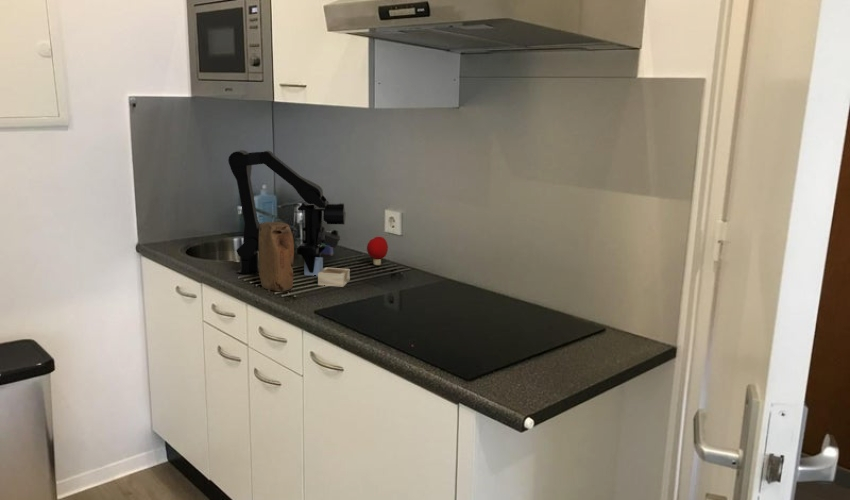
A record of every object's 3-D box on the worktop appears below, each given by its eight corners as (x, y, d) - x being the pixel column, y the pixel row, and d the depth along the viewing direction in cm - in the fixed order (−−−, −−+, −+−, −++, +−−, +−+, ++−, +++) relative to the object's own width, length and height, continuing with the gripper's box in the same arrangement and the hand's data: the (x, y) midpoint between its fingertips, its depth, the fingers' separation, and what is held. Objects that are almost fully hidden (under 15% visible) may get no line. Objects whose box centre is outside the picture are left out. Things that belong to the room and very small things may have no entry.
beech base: (325, 279, 217) (325, 267, 216) (349, 281, 216) (349, 268, 215) (318, 285, 209) (318, 273, 209) (343, 287, 208) (343, 274, 208)
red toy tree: (372, 262, 241) (372, 234, 239) (391, 264, 239) (391, 236, 237) (362, 268, 232) (363, 239, 230) (382, 270, 230) (382, 241, 228)
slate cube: (308, 271, 226) (307, 256, 225) (322, 272, 225) (322, 257, 224) (304, 275, 221) (304, 260, 220) (319, 275, 221) (319, 260, 219)
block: (257, 286, 206) (255, 221, 202) (278, 282, 211) (277, 219, 207) (276, 294, 198) (275, 227, 194) (298, 289, 204) (297, 224, 199)
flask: (334, 254, 251) (334, 226, 248) (331, 256, 248) (330, 227, 246) (311, 252, 253) (311, 224, 251) (308, 254, 251) (307, 225, 248)
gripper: (331, 230, 210) (331, 278, 213) (343, 219, 228) (343, 264, 231) (296, 228, 211) (296, 277, 214) (310, 218, 229) (311, 263, 232)
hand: (313, 270), depth 223 cm, fingers closed on slate cube, 5 cm apart
